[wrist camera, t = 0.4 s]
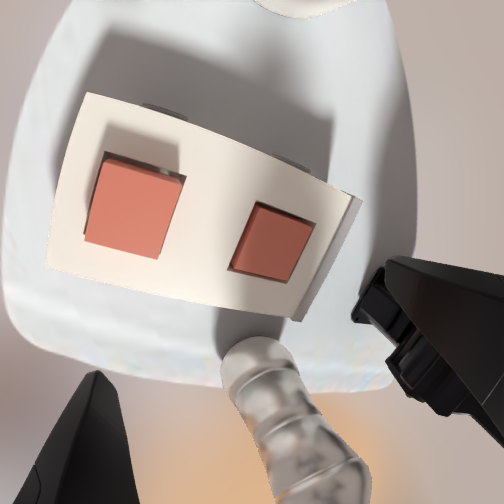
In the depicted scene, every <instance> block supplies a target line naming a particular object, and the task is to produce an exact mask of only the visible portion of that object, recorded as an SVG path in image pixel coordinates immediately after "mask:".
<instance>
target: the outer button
mask: <svg viewBox="0 0 504 504" xmlns="http://www.w3.org/2000/svg"><path fill="white" fill-rule="evenodd" d="M181 189H182V184H181V182H180V180H179V179H178V178H175V177H172V176H169V175H166V174H162V173H159V172H156V171H153V170H149V169H146V168H143V167H140V166H136V165H133V164H129V163H126V162H123V161H119V160H116V159H112V158H109V159H107V160H106V161H105V162H104V163H103V166H102V169H101V173H100V176H99V179H98V183H97V187H96V190H95V194H94V198H93V202H92V206H91V210H90V215H89V219H88V224H87V229H86V233H85V239H84V241H86V242H89V243H93V244H97V245H101V246H105V247H108V248H112V249H116V250H120V251H124V252H128V253H132V254H136V255H140V256H144V257H148V258H152V259H156V260H158V257H159V253H160V250H161V247H162V244H163V241H164V238H165V235H166V232H167V229H168V226H169V223H170V220H171V217H172V214H173V211H174V208H175V205H176V202H177V200H178V197H179V194H180V191H181Z"/></svg>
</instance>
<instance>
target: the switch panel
mask: <svg viewBox="0 0 504 504" xmlns="http://www.w3.org/2000/svg"><path fill="white" fill-rule="evenodd" d="M187 120H188V118H186V117H185V116H182V115H180V114H178V113H175V112H172V111H170V110H167V109H164V108H161V107H157V106H154V105H150V104H144V103H143V104H142V107H140V106H137V105H134V104H130V103H127V102H124V101H120V100H117V99H113V98H109V97H105V96H102V95H98V94H94V93H90V92H87V93H86V95H85V98H84V100H83V103H82V105H81V108H80V111H79V113H78V116H77V119H76V122H75V125H74V128H73V131H72V134H71V137H70V140H69V143H68V147H67V150H66V154H65V157H64V161H63V165H62V168H61V172H60V177H59V181H58V185H57V190H56V195H55V200H54V205H53V210H52V216H51V222H50V229H49V236H48V244H47V253H46V264H45V267H46V268H50V269H53V270H57V271H60V272H64V273H68V274H71V275H75V276H79V277H83V278H87V279H91V280H95V281H99V282H103V283H107V284H111V285H115V286H119V287H124V288H128V289H132V290H137V291H141V292H146V293H150V294H155V295H160V296H165V297H170V298H175V299H180V300H185V301H190V302H195V303H200V304H206V305H211V306H217V307H223V308H229V309H235V310H241V311H247V312H253V313H260V314H267V315H273V316H280V317H288V318H291V320H292V321H297V322H302V320H303V318H304V316H305V314H306V313H307V311H308V309H309V307H310V306H311V304H312V302H313V300H314V298H315V296H316V295H317V293H318V291H319V289H320V287H321V285H322V284H323V282H324V280H325V278H326V276H327V274H328V272H329V270H330V268H331V266H332V264H333V262H334V261H335V259H336V257H337V255H338V253H339V251H340V249H341V247H342V245H343V243H344V241H345V238H346V236H347V234H348V232H349V230H350V228H351V226H352V224H353V222H354V220H355V218H356V215H357V213H358V211H359V209H360V207H361V205H362V202H363V201H362V200H360V199H359V198H357V197H355V196H353V195H350V194H348V193H346V192H343V191H341V190H338V189H337V188H335V187H333V186H331V185H329V184H327V183H325V182H323V181H321V180H319V179H317V178H315V177H313V176H311V175H310V173H311V171H310V170H309V169H307V168H305V167H303V166H301V165H299V164H297V163H295V162H292V161H290V160H288V159H285V158H283V157H280V156H277V155H274V154H272V155H271V156H269V155H267V154H265V153H263V152H260V151H258V150H256V149H254V148H251V147H249V146H247V145H244V144H242V143H240V142H237V141H235V140H232V139H230V138H227V137H225V136H222V135H220V134H217V133H215V132H212V131H210V130H207V129H204V128H202V127H199V126H196V125H194V124H191V123H188V122H187ZM109 158H112V159H116V160H119V161H123V162H126V163H129V164H133V165H136V166H140V167H143V168H146V169H149V170H153V171H156V172H159V173H162V174H166V175H169V176H172V177H175V178H178V179H179V180H180V182H181V184H182V189H181V191H180V194H179V197H178V200H177V202H176V205H175V208H174V211H173V214H172V217H171V220H170V223H169V226H168V229H167V232H166V235H165V238H164V241H163V244H162V247H161V250H160V253H159V257H158V260H156V259H152V258H148V257H144V256H140V255H136V254H132V253H128V252H124V251H120V250H116V249H112V248H108V247H105V246H101V245H97V244H93V243H89V242H86V241H84V239H85V233H86V229H87V224H88V219H89V215H90V210H91V206H92V202H93V198H94V194H95V190H96V187H97V183H98V179H99V176H100V173H101V169H102V166H103V163H104V162H105V161H106V160H107V159H109ZM255 202H257V203H260V204H262V205H265V206H268V207H271V208H273V209H276V210H279V211H281V212H284V213H286V214H289V215H292V216H294V217H297V218H299V219H300V220H302V221H303V222H305V223H306V224H308V225H309V226H311V227H312V230H311V232H310V234H309V236H308V239H307V241H306V243H305V245H304V247H303V249H302V251H301V253H300V255H299V257H298V259H297V261H296V263H295V265H294V267H293V269H292V271H291V274H290V276H289V278H288V280H287V281H285V280H281V279H276V278H272V277H268V276H263V275H259V274H255V273H251V272H246V271H242V270H238V269H234V267H233V266H232V264H231V262H230V261H231V258H232V256H233V254H234V251H235V249H236V247H237V244H238V242H239V239H240V237H241V235H242V232H243V230H244V228H245V225H246V223H247V221H248V218H249V216H250V214H251V211H252V209H253V206H254V204H255Z"/></svg>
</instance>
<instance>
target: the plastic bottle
mask: <svg viewBox="0 0 504 504" xmlns="http://www.w3.org/2000/svg"><path fill="white" fill-rule="evenodd" d="M220 372H221V379H222V385H223V388H224V390H225V391H226V393H227V395H228V396H229V398H230V400H231V401H232V403H233V404H234V405H235V407H236V408H237V409H238V411H239V413H240V415H241V417H242V418H243V420H244V422H245V424H246V426H247V427H248V429H249V431H250V433H251V434H252V437H253V439H254V442H255V444H256V446H257V448H258V452H259V454H260V457H261V459H262V462H263V464H264V467H265V470H266V473H267V476H268V480H269V483H270V486H271V490H272V493H273V496H274V498H275V499H276V500H275V502H276V504H369V503H370V497H371V489H372V477H371V474H370V471H369V467H368V466H367V465H366V464H365V462H364V461H363V460H362V459H361V458H359V457H358V455H357V454H356V453H355V452H354V451H353V450H352V449H351V448H350V447H349V446H348V445H347V444H346V442H344V440H343V439H342V438H341V437H340V436H339V435H338V434H337V433H336V432H335V431H334V430H333V428H332V427H331V426H330V424H329V423H328V422H327V420H326V419H325V418H324V417H322V414H321V412H320V411H319V410H318V408H317V407H316V406H315V404H314V402H313V400H312V399H311V397H310V395H309V393H308V391H307V389H306V387H305V385H304V383H303V382H302V380H301V378H300V374H299V371H298V368H297V366H296V364H295V361H294V359H293V357H292V355H291V353H290V352H289V351H288V350H287V349H286V348H285V347H284V346H283V345H282V344H281V343H280V342H279V341H277V340H275V339H273V338H268V337H264V336H255V337H250V338H247V339H244V340H242V341H240V342H238V343H237V344H235V345H234V346H233V347H232V348H231V349H230V350H229V351H228V352H227V353H226V355H225V357H224V359H223V361H222V364H221V368H220Z"/></svg>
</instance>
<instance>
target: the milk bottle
mask: <svg viewBox="0 0 504 504" xmlns="http://www.w3.org/2000/svg"><path fill="white" fill-rule="evenodd" d="M254 1H255V2H256V3H258V4H259V5H260V6H262V7H264V8H266V9H267V10H269V11H271V12H274V13H276V14H279V15H282V16H286V17H291V18H300V19H308V18H314V17H318V16H321V15H323V14H326V13H328V12H330V11H333V10H335V9H337V8H340V7H342V6H345V5H347V4H350V3H352V2H355V1H358V0H254Z"/></svg>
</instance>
